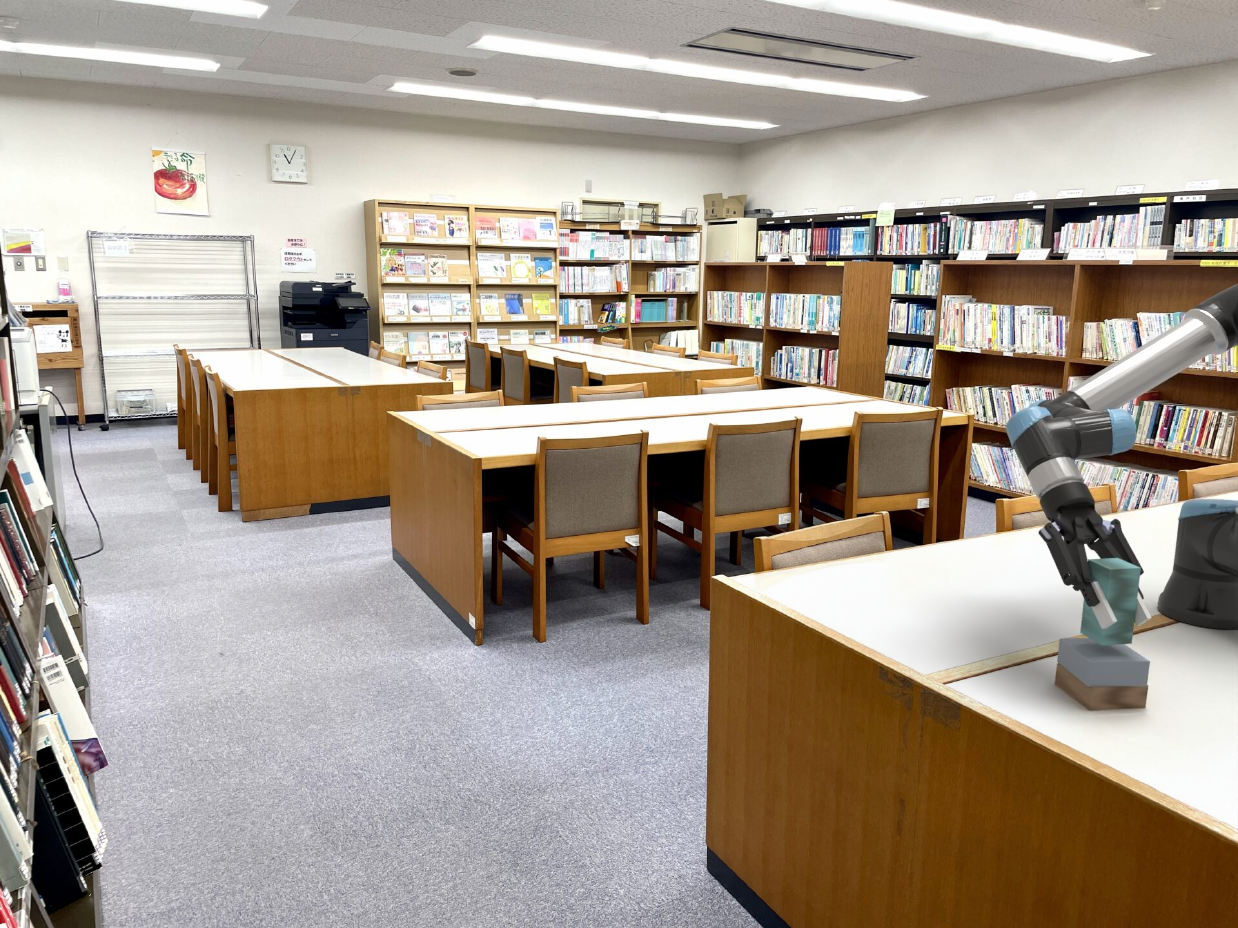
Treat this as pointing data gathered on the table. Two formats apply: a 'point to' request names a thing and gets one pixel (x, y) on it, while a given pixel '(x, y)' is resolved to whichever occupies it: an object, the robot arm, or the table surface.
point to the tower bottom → (1100, 693)
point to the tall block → (1113, 600)
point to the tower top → (1103, 663)
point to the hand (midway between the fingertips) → (1126, 623)
